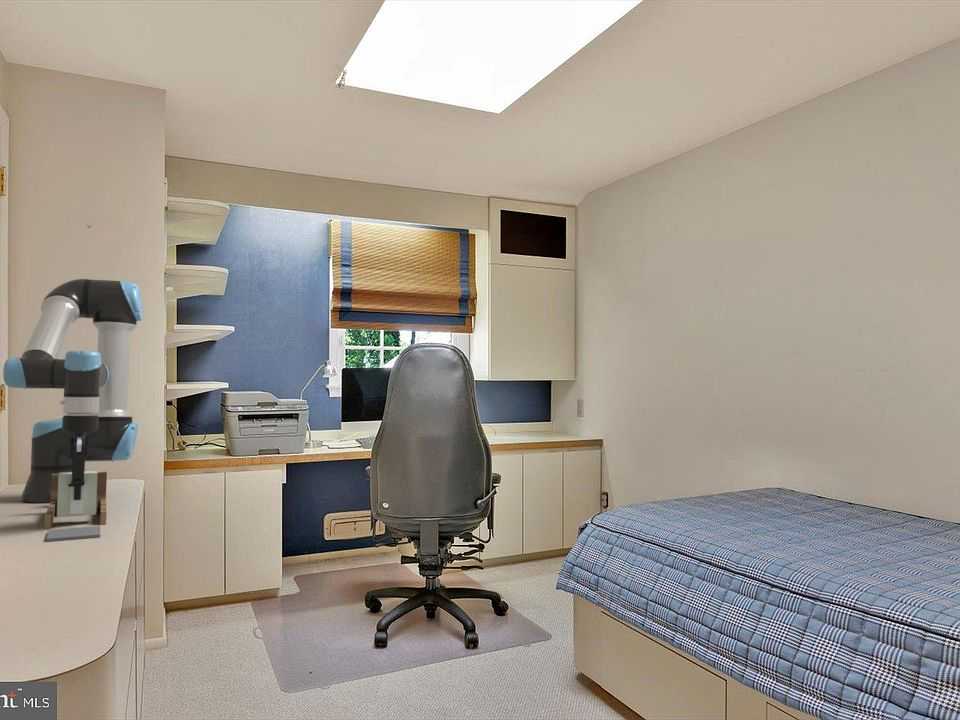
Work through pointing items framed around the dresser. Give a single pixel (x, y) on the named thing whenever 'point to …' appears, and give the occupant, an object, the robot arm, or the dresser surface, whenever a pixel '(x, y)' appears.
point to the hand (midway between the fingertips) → (77, 511)
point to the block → (65, 494)
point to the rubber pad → (73, 533)
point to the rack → (100, 499)
